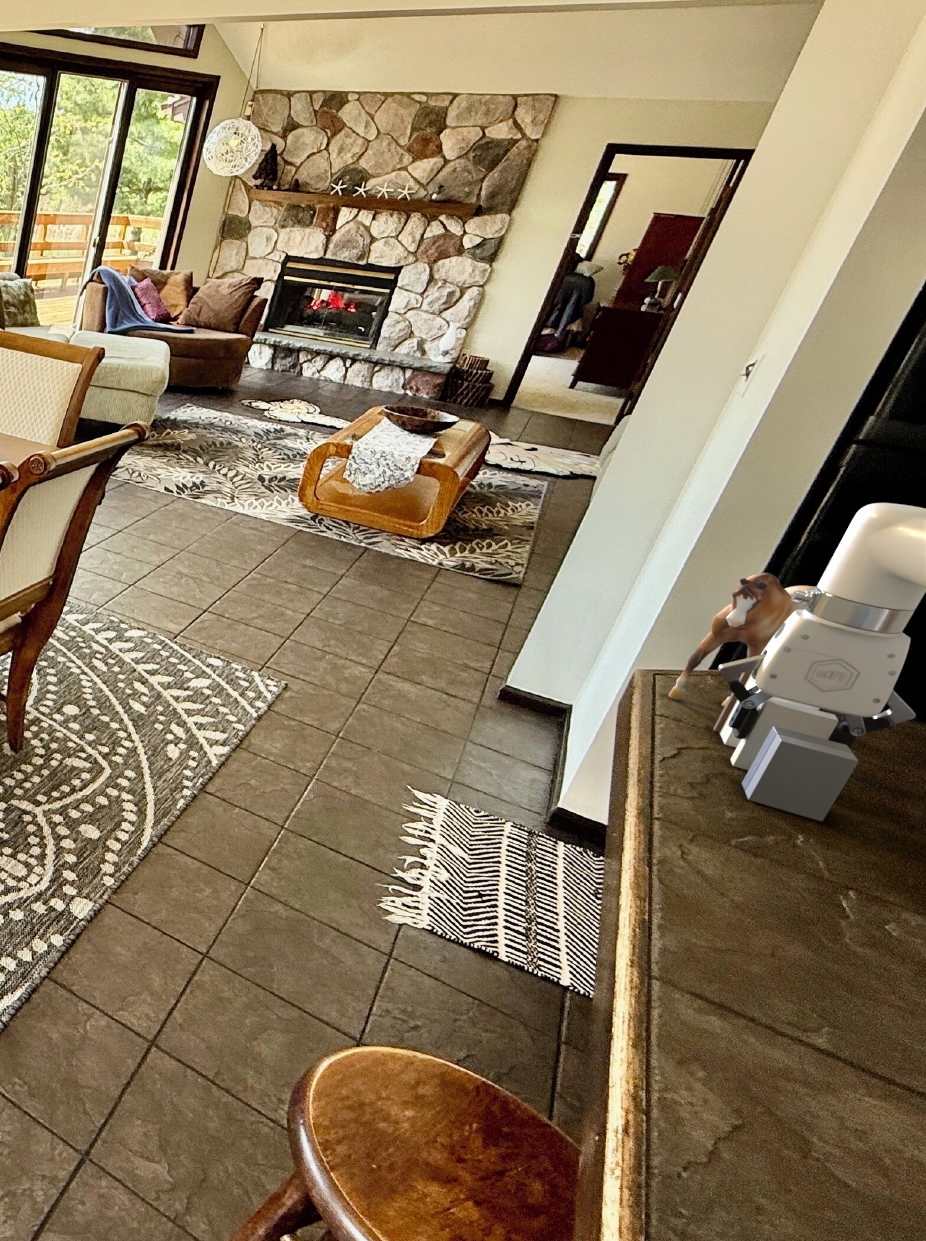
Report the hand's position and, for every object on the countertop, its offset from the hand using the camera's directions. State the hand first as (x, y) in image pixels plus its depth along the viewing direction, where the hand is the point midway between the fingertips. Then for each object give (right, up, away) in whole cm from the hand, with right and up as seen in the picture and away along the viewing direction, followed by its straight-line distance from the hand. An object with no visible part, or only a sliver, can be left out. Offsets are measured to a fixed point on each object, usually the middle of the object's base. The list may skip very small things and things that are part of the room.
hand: (781, 745), depth 107 cm
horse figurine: (+18, +2, +18) cm, 26 cm away
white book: (0, -4, +2) cm, 4 cm away
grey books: (-5, -6, -5) cm, 9 cm away
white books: (+5, -2, +7) cm, 9 cm away
